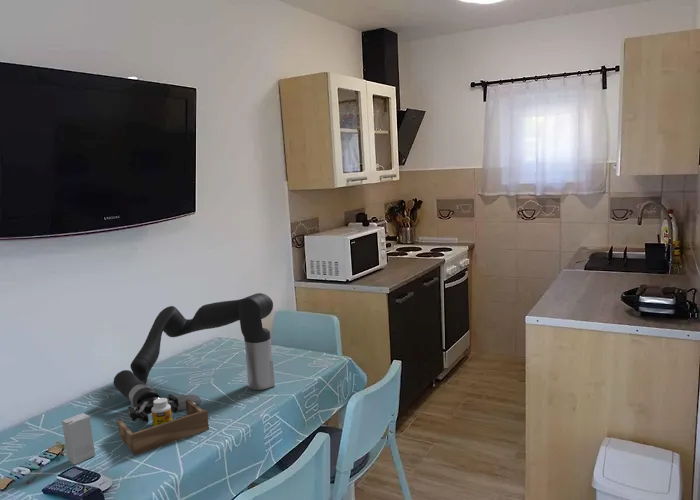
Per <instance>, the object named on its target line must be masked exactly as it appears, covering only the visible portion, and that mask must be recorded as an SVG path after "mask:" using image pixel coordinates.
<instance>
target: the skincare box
mask: <svg viewBox="0 0 700 500" xmlns="http://www.w3.org/2000/svg"><path fill="white" fill-rule="evenodd" d="M61 424H62V430H63V437H64V443H65V449H66V456H67V461H68V462H70V463H71V464H72V465H77V464H80V463H82V462H84V461H86V460H88V459H91V458H93V457H95V456H96V450H95V443H94V438H93V437H94V436H93V430H92V424H91V417H90V415H88V414H86V413H84V412H82V413H80V414H77V415H74V416H71V417H69V418H66V419H63V420H61Z"/></svg>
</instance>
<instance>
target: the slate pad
mask: <svg viewBox="0 0 700 500" xmlns="http://www.w3.org/2000/svg"><path fill="white" fill-rule="evenodd" d="M175 397H176V398H178V403H179V407H177V409H178V411H177V412H185V411H186V412H187V410H186V400H187V399H189V400H190V401H192V402H193V403H194V404H195V405H197V406H198V407H199V405H200V404H201V397H200V396H199V395H195V394H183V395H182V394H181V395H177V396H175ZM171 413H173V412H172V411H171Z"/></svg>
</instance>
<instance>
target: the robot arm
mask: <svg viewBox="0 0 700 500" xmlns="http://www.w3.org/2000/svg"><path fill="white" fill-rule="evenodd" d="M273 308H274V302H273V300H272V299H271V297H270V296H268V295H267V294H266V293H261V292H260V293H259V292H257V293H253V294H251V295H248V296H246V297H244V298H241V299H234V300H233V299H232V300H224V301H217V302H211V303H207V304H204V305H202V306H200V307H199V308H197V310H196V312H195V314H194V315H193V317H192V318H190V319H189V318H188V319H187V318H185V316H184V315H183V314H182V313H181V312H180V310H178V308H177V307H175V306H174V305H169V306H166V307H165V308H162V310H161V311H160V312H159V313H158V314H157V315H156V318H155V319H154V322H153V324H152V326H151V328H150V330H149V332H148V335H147V337H146V339H145V341H144V343H143V344H142V346H141V348H140V350H139V351H138V353H137V354H136V356H135V357H134V358H133V360H132V362H131V363H130V369H131V370H129V369H125V370H124V369H123V370H121V371H119V372H118V373H116V374H115V376H114V378H113V386H114V388H115V389H117V390H118V391H119V393H121V394H122V395H123V396H124V397H125V398H126V399H127V400H128V402H130V404H131V405H132V406H128V407H127V412H128V416H129V418H130V419H131V421H132V422H135V421H137V419H139V420H141V421H142V422H145V423H149V421H150V420H149V414H152V411H151V409H152V407H154V403H153V402H154V400H156V399H159V398H162V397H161V396H160V395H159V393H158V392H156V390H154V389H153V388H151V386H149V385H147V382H148V378H149V375H150V372H151V371H152V368H153V367H154V366H155V364H156V362H157V360H158V359H159V356H160V353H161V341H162V335H163V333H165V335H166V336H167V337H169V338H177V337H181V336H184V335H187V334H191V333H194V332H199V331H203V330H211V329H216V328H221V327H224V326H228V325H230V324H233V323H236V322H238V321H239V325H240V331H241V334H242V336H243V338H244V339H243V340H244V351H245V362H246V363H245V364H246V372H247V375H246V376H247V386H248V388H249V389H250V390H253V391H254V390H255V391H256V390H257V391H262V390H268V389H270V388H272V387H276V384H275V370H274V361H273V360H274V359H273V352H272V341H271V331H270V329H268V328H265V327H263V323H262V320H263V319H265V318H267V317H268V316H270V314H272V312H273ZM165 398H166V399H167V402H168V404H169V405H170V406H171V411H172V412H171V413H173V414H177V411H178V409H177V407H179V403H178V398H176V396H174V395H173V394H167V397H165Z"/></svg>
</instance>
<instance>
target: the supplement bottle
mask: <svg viewBox="0 0 700 500" xmlns="http://www.w3.org/2000/svg"><path fill="white" fill-rule="evenodd" d="M166 398H167V397H161V398H159V399H156V400H154V402H153V403H154V407H152V409H151V411H152V413H151V417H152V418H151V420H152V427H154V426H157V425H160V424H163V423H166V422H169V421H172V420H173V416H172V415H173V414H172V412H171V406H170V405H169V404H168V402H167V399H166Z"/></svg>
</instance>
